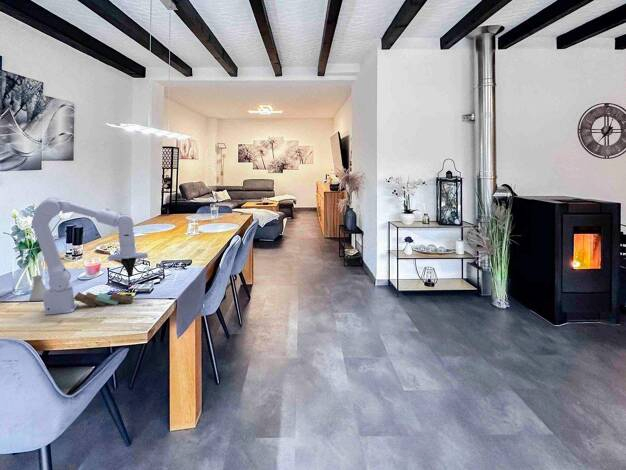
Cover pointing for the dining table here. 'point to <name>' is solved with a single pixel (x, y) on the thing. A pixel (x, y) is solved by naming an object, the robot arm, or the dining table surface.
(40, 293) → the flask
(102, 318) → the dining table surface
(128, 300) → the domino
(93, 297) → the domino
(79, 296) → the domino
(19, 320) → the dining table surface
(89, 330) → the dining table surface
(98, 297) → the domino
